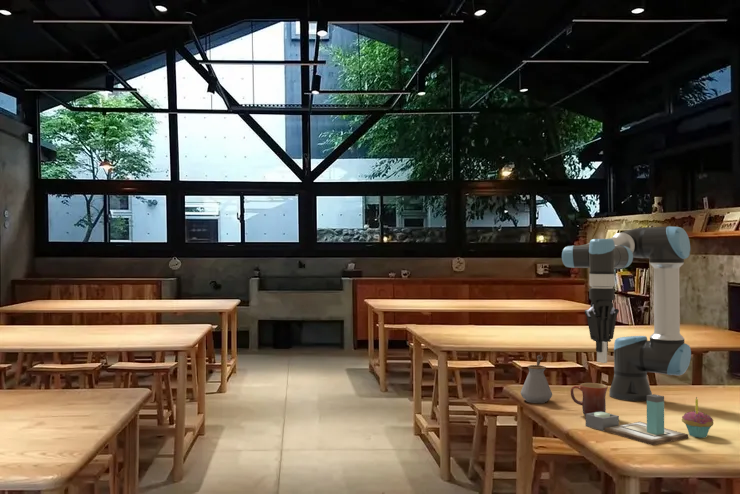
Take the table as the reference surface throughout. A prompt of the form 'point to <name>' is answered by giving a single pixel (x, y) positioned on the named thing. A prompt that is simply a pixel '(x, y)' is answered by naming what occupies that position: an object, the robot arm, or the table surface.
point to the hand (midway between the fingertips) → (601, 362)
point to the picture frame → (645, 433)
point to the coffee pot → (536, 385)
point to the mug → (591, 397)
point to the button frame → (601, 421)
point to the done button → (602, 414)
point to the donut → (697, 422)
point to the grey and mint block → (655, 414)
